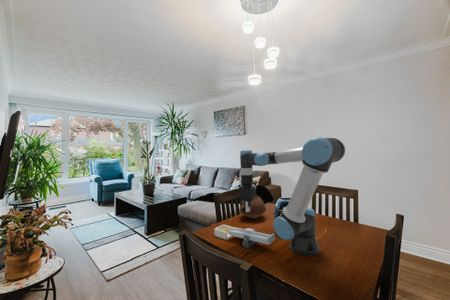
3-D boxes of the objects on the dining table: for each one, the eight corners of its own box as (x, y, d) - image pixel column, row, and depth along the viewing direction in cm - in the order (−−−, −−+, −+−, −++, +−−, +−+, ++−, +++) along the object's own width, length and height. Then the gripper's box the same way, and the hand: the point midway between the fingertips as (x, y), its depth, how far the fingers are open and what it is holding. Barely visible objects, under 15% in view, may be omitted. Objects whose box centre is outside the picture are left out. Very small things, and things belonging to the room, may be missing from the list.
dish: (236, 234, 133) (235, 228, 133) (226, 240, 126) (226, 232, 126) (223, 230, 140) (223, 224, 140) (214, 235, 133) (213, 228, 133)
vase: (253, 212, 178) (252, 178, 178) (272, 217, 163) (271, 180, 163) (233, 219, 162) (232, 182, 162) (252, 226, 147) (251, 185, 147)
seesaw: (279, 236, 118) (279, 230, 118) (268, 244, 108) (268, 238, 108) (240, 228, 136) (240, 223, 136) (228, 234, 126) (228, 229, 127)
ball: (226, 234, 134) (227, 228, 134) (223, 235, 132) (223, 230, 131) (222, 232, 137) (223, 227, 137) (219, 233, 134) (219, 228, 134)
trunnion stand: (258, 241, 123) (258, 231, 123) (248, 248, 114) (247, 238, 114) (253, 239, 126) (252, 229, 126) (242, 246, 117) (242, 236, 117)
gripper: (258, 174, 127) (260, 211, 127) (241, 173, 136) (243, 208, 136) (252, 175, 121) (253, 214, 121) (235, 174, 130) (236, 211, 130)
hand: (248, 211), depth 129 cm, fingers closed
